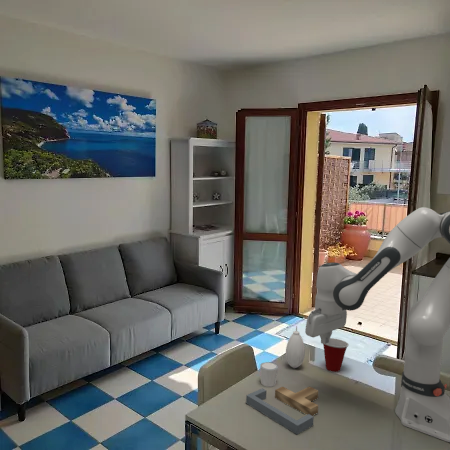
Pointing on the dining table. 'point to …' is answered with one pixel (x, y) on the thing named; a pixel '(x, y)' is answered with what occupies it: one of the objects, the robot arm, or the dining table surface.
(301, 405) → the t block
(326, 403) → the dining table surface
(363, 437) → the dining table surface
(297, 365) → the sauce bottle
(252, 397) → the dock
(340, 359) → the plastic cup
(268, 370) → the white cylinder
